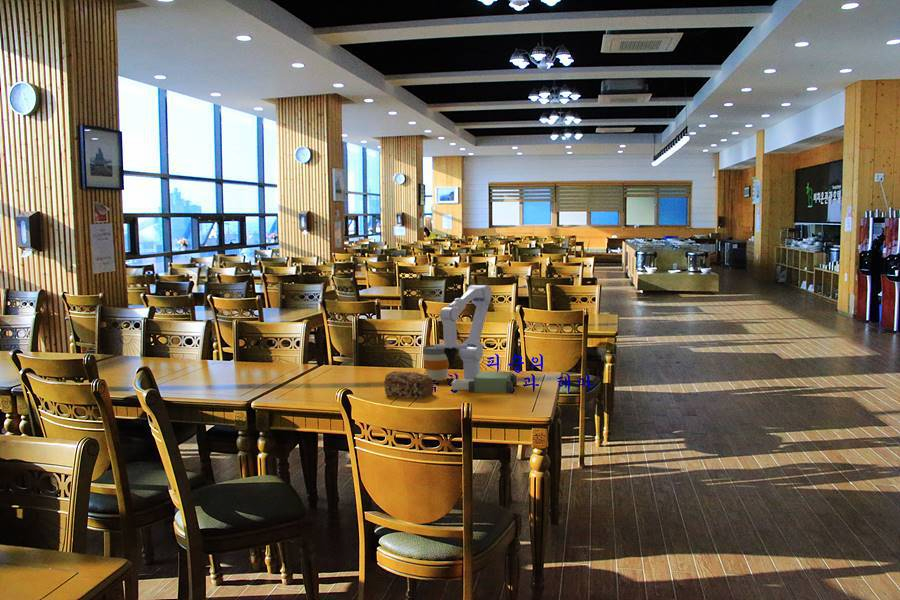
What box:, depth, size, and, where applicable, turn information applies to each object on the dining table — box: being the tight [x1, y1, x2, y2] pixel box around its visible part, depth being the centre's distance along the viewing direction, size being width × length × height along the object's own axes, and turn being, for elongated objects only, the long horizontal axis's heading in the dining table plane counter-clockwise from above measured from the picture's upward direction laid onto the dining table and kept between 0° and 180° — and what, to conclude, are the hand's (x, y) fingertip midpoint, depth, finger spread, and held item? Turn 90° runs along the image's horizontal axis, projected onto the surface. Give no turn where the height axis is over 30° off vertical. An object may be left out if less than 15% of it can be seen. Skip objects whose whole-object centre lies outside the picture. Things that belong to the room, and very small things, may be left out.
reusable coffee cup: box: [422, 344, 450, 381], centre depth 354 cm, size 13×12×15 cm
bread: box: [383, 370, 434, 400], centre depth 321 cm, size 19×11×10 cm, turn 59°
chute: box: [451, 378, 474, 391], centre depth 331 cm, size 7×10×3 cm
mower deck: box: [468, 371, 518, 393], centre depth 328 cm, size 18×18×6 cm
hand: (451, 365), depth 335 cm, fingers closed
